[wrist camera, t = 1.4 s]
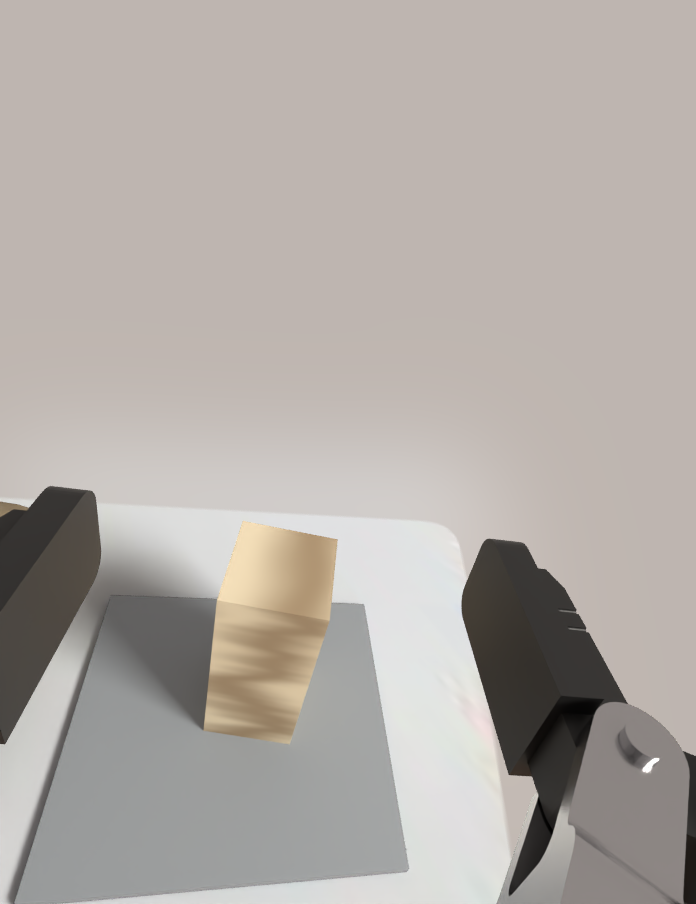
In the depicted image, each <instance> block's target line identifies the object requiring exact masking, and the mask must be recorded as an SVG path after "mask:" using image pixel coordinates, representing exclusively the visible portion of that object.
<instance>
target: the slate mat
mask: <svg viewBox="0 0 696 904" xmlns="http://www.w3.org/2000/svg"><path fill="white" fill-rule="evenodd" d="M216 604H217V599H207V598H179V597H151V596H123V595H111V597H110V600H109V603H108V606H107V609H106V613H105V616H104V619H103V622H102V625H101V628H100V632H99V635H98V638H97V641H96V644H95V648H94V651H93V654H92V657H91V660H90V663H89V667H88V670H87V673H86V676H85V679H84V683H83V686H82V689H81V692H80V695H79V698H78V702H77V705H76V708H75V711H74V714H73V718H72V721H71V724H70V727H69V730H68V734H67V737H66V740H65V743H64V746H63V749H62V753H61V756H60V759H59V762H58V765H57V769H56V772H55V775H54V778H53V781H52V784H51V788H50V791H49V794H48V797H47V800H46V804H45V807H44V810H43V813H42V816H41V819H40V823H39V826H38V829H37V832H36V835H35V839H34V842H33V845H32V848H31V851H30V854H29V858H28V861H27V864H26V867H25V870H24V874H23V877H22V880H21V883H20V886H19V889H18V893H17V896H16V899H15V902H14V904H60V903H71V902H82V901H93V900H104V899H115V898H126V897H137V896H148V895H158V894H169V893H180V892H191V891H202V890H213V889H224V888H235V887H246V886H257V885H268V884H279V883H290V882H301V881H312V880H323V879H334V878H345V877H356V876H367V875H378V874H388V873H399V872H407V871H408V869H409V865H408V860H407V854H406V848H405V842H404V836H403V830H402V824H401V818H400V813H399V807H398V801H397V795H396V789H395V783H394V777H393V771H392V765H391V760H390V754H389V748H388V742H387V736H386V730H385V724H384V718H383V713H382V707H381V701H380V695H379V689H378V683H377V677H376V671H375V666H374V660H373V654H372V648H371V642H370V636H369V630H368V624H367V619H366V613H365V607H364V604H347V603H331V612H330V621H329V624H328V627H327V630H326V633H325V637H324V640H323V643H322V646H321V649H320V652H319V655H318V658H317V661H316V664H315V667H314V670H313V674H312V677H311V680H310V683H309V686H308V689H307V692H306V695H305V698H304V701H303V704H302V707H301V711H300V714H299V717H298V720H297V723H296V726H295V729H294V732H293V735H292V738H291V741H290V744H284V743H278V742H271V741H265V740H259V739H253V738H246V737H240V736H234V735H227V734H221V733H215V732H209V731H203V730H204V721H205V711H206V701H207V692H208V682H209V672H210V663H211V653H212V643H213V633H214V624H215V614H216Z"/></svg>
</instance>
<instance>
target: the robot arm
mask: <svg viewBox="0 0 696 904" xmlns="http://www.w3.org/2000/svg"><path fill="white" fill-rule="evenodd" d="M100 558H101V545H100V535H99V525H98V515H97V505H96V497H95V495H94V493H93V492H92V491H88V490H80V489H71V488H63V487H54V486H50V487H48V488H46V489H45V490H44V491H43V492H42V493H41V494H40V496H39V497H38V498H37V499H36V500H35V501H34V503H33V504H32V505H31V506H30V507H29V509H28V510H18V509H13V510H11V511H10V512H8V513H6V514H5V515H3V516H1V517H0V744H6V742H7V740H8V738H9V736H10V734H11V733H12V731H13V729H14V727H15V725H16V723H17V722H18V720H19V718H20V716H21V714H22V712H23V711H24V709H25V707H26V705H27V703H28V701H29V700H30V698H31V696H32V694H33V692H34V690H35V688H36V687H37V685H38V683H39V681H40V679H41V677H42V676H43V674H44V672H45V670H46V668H47V666H48V665H49V663H50V661H51V659H52V657H53V655H54V654H55V652H56V650H57V648H58V646H59V644H60V643H61V641H62V639H63V637H64V635H65V633H66V632H67V630H68V628H69V626H70V624H71V622H72V621H73V619H74V617H75V615H76V613H77V611H78V610H79V608H80V606H81V604H82V602H83V600H84V599H85V597H86V595H87V593H88V591H89V589H90V588H91V586H92V584H93V582H94V580H95V578H96V575H97V572H98V569H99V564H100ZM462 616H463V620H464V624H465V627H466V630H467V634H468V637H469V641H470V644H471V647H472V651H473V654H474V658H475V661H476V665H477V668H478V671H479V675H480V678H481V682H482V685H483V688H484V692H485V695H486V699H487V702H488V706H489V709H490V712H491V716H492V719H493V723H494V726H495V729H496V733H497V736H498V740H499V743H500V746H501V750H502V753H503V757H504V760H505V764H506V767H507V770H508V773H509V775H517V776H532V777H533V780H534V784H535V787H536V790H537V792H536V794H535V795H534V796H533V798H532V801H531V803H530V806H529V809H528V812H527V815H526V818H525V821H524V824H523V827H522V830H521V833H520V836H519V839H518V842H517V845H516V848H515V851H514V854H513V857H512V860H511V863H510V866H509V869H508V872H507V875H506V878H505V881H504V884H503V887H502V890H501V893H500V896H499V899H498V901H497V904H696V756H694V755H691V754H689V753H686V752H684V751H682V749H681V747H680V746H679V744H678V743H677V741H676V740H675V738H674V737H673V736H672V735H671V734H670V733H669V731H668V730H667V729H666V728H665V727H664V726H663V725H662V724H661V723H659V722H658V721H657V720H656V719H654V718H653V717H652V716H650V715H649V714H647V713H646V712H644V711H642V710H640V709H639V708H636V707H634V706H632V705H629V704H628V703H627V702H626V700H625V698H624V696H623V694H622V693H621V691H620V689H619V687H618V685H617V683H616V682H615V680H614V678H613V676H612V674H611V673H610V671H609V669H608V667H607V665H606V663H605V661H604V660H603V658H602V656H601V654H600V652H599V651H598V649H597V647H596V645H595V643H594V641H593V640H592V638H591V636H590V634H589V633H588V632H586V627H585V625H584V623H583V621H582V620H581V618H580V616H579V614H576V608H575V607H574V605H573V603H572V601H571V599H570V597H569V596H568V594H567V592H566V590H565V588H564V587H562V585H561V584H560V583H559V582H558V581H556V579H555V578H554V577H553V576H552V575H551V574H550V573H549V572H548V571H547V570H545V569H538V568H537V566H536V564H535V562H534V560H533V558H532V556H531V554H530V552H529V550H528V548H527V546H525V544H523V543H521V542H513V541H505V540H496V539H487V540H485V541H484V543H483V544H482V546H481V549H480V551H479V553H478V556H477V558H476V561H475V563H474V565H473V568H472V570H471V573H470V575H469V578H468V580H467V582H466V585H465V587H464V590H463V595H462Z"/></svg>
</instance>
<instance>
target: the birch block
mask: <svg viewBox="0 0 696 904" xmlns="http://www.w3.org/2000/svg"><path fill="white" fill-rule="evenodd" d="M336 550H337V539H332V538H327V537H322V536H317V535H312V534H307V533H302V532H297V531H291V530H286V529H281V528H276V527H271V526H266V525H261V524H256V523H251V522H245V521H243V522H242V525H241V528H240V531H239V534H238V538H237V541H236V544H235V547H234V550H233V553H232V556H231V559H230V562H229V565H228V568H227V571H226V574H225V577H224V580H223V583H222V586H221V589H220V592H219V595H218V599H217V604H216V614H215V624H214V633H213V643H212V653H211V663H210V672H209V682H208V692H207V701H206V711H205V721H204V730H203V731H209V732H215V733H221V734H227V735H234V736H240V737H246V738H253V739H259V740H265V741H271V742H278V743H284V744H290V741H291V738H292V735H293V732H294V729H295V726H296V723H297V720H298V717H299V714H300V711H301V707H302V704H303V701H304V698H305V695H306V692H307V689H308V686H309V683H310V680H311V677H312V674H313V670H314V667H315V664H316V661H317V658H318V655H319V652H320V649H321V646H322V643H323V640H324V637H325V633H326V630H327V627H328V624H329V621H330V612H331V601H332V591H333V581H334V570H335V560H336Z"/></svg>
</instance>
